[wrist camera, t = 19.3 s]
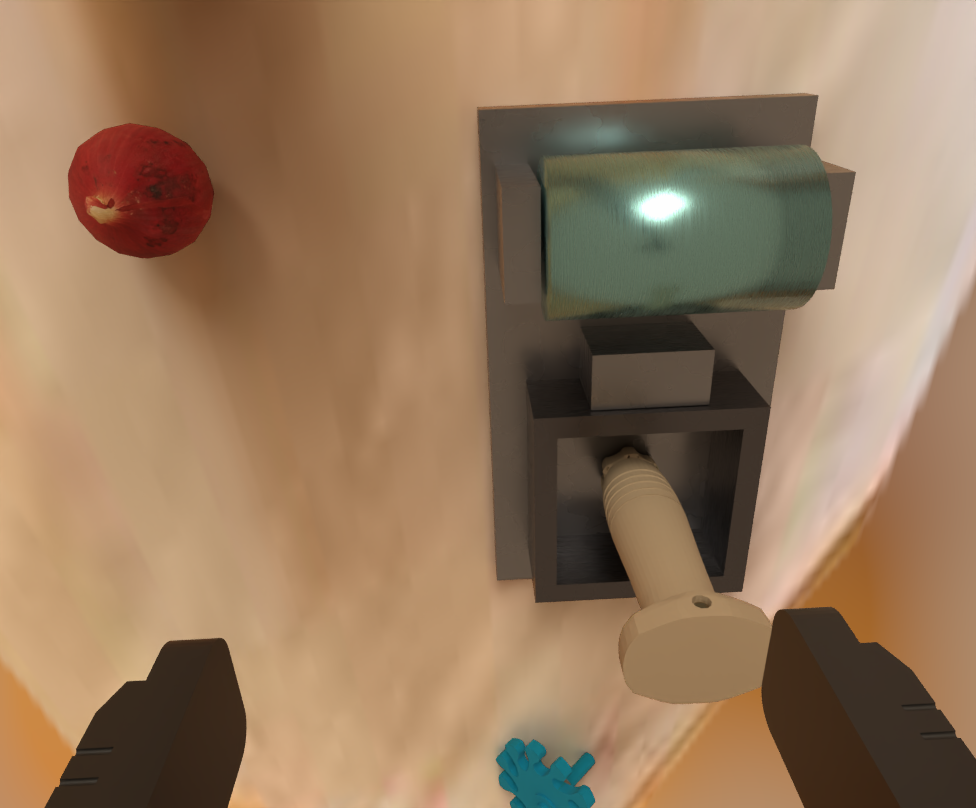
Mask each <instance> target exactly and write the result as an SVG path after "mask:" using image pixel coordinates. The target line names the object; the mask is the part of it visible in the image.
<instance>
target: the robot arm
mask: <svg viewBox="0 0 976 808" xmlns="http://www.w3.org/2000/svg"><path fill="white" fill-rule="evenodd" d="M762 704H763V709H764V714H765V718H766V721H767V724H768V727H769V730H770V732H771V734H772V737H773V739H774V741H775V743H776V745H777V748H778V750H779V752H780V754H781V757H782V759H783V761H784V763H785V765H786V767H787V770H788V772H789V774H790V776H791V779H792V781H793V783H794V785H795V787H796V790H797V792H798V794H799V797H800V799H801V801H802V803H803V805H804V808H976V759H975V758H974V756H973V755H972V753H971V752H970V750H969V749H968V748H967V746H966V745H965V744H964V742H963V741H962V739H961V738H957V737H956V734H955V730H954V728H953V727H952V725H951V724H950V723H949V721H948V720H947V718H946V717H945V716H944V714H943V713H942V711H941V710H937V709H936V706H935V702H934V700H933V699H932V698H931V696H930V695H929V693H928V692H927V691H926V689H925V688H924V686H923V685H922V684H921V682H920V681H919V679H918V678H917V677H916V675H915V674H914V672H913V671H912V670H911V669H910V668H909V667H907V666H906V665H905V664H903V663H902V662H901V661H900V660H899V659H897V658H896V657H895V656H893V655H892V654H891V653H890V652H888V651H887V650H886V649H885V648H883V647H882V646H881V645H880V644H878V643H877V642H873V643H860V642H859V641H858V639H857V638H856V637H855V635H854V633H853V632H852V630H851V629H850V628H849V626H848V624H847V623H846V621H845V620H844V619H843V617H842V616H841V614H840V613H839V612H838V611H837V610H836V609H834V608H832V607H819V608H801V609H783V610H779V611H777V613H776V614H775V616H774V620H773V625H772V631H771V636H770V641H769V647H768V652H767V658H766V663H765V669H764V674H763V680H762ZM245 742H246V713H245V708H244V704H243V701H242V697H241V693H240V689H239V686H238V682H237V678H236V674H235V671H234V667H233V663H232V659H231V656H230V652H229V648H228V645H227V643H226V641H225V640H224V639H222V638H214V639H196V640H177V641H169V642H167V643H166V644H165V645H164V646H163V647H162V649H161V651H160V653H159V655H158V657H157V659H156V661H155V663H154V665H153V667H152V669H151V671H150V673H149V675H148V677H147V679H146V681H128V682H126V683H125V684H124V685H123V686H122V687H121V688H120V689H119V690H118V691H117V692H116V693H115V694H114V695H113V696H112V697H111V698H110V699H109V700H108V701H107V702H106V703H105V704H104V705H103V706H102V707H101V708H100V709H99V710H98V711H97V712H96V713H95V715H94V717H93V719H92V721H91V722H90V724H89V726H88V728H87V730H86V732H85V734H84V735H83V737H82V739H81V741H80V743H79V745H78V747H77V748H76V755H75V756H72V758H71V760H70V761H69V763H68V765H67V767H66V769H65V771H64V773H63V774H62V776H61V778H60V785H59V787H56V788H55V789H54V791H53V793H52V795H51V797H50V799H49V800H48V802H47V804H46V806H45V808H228V804H229V801H230V798H231V794H232V791H233V788H234V784H235V781H236V778H237V774H238V771H239V768H240V764H241V761H242V757H243V753H244V748H245Z"/></svg>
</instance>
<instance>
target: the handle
mask: <svg viewBox="0 0 976 808" xmlns="http://www.w3.org/2000/svg"><path fill="white" fill-rule="evenodd" d="M602 471H603V475H602V477H601V488H602V493H603V504H604V510H605V515H606V520H607V523H608V527H609V530H610V533H611V536H612V539H613V542H614V544H615V546H616V549H617V551H618V553H619V556H620V558H621V561H622V563H623V565H624V568H625V570H626V572H627V575H628V577H629V579H630V582H631V585H632V587H633V590H634V592H635V595H636V597H637V600H638V603H639V605H640V608H641V610H640V611H639V612H637V613H635V614H633V615H632V616H631V618H630V619H629V620H628V621H627V622H626V624H625V625H624V627H623V629H622V632H621V634H620V639H619V659H620V663H621V667H622V671H623V675H624V679H625V682H626V684H627V685H628V687H629V688H630V690H631V691H632V692H633V693H635V694H638V695H641V696H644V697H647V698H651V699H654V700H658V701H661V702H666V703H671V704H693V703H710V702H718V701H722V700H726V699H729V698H732V697H735V696H738V695H741V694H744V693H746V692H749V691H752V690H754V689H757V688H760V687H761V686H762V680H763V674H764V669H765V663H766V658H767V652H768V647H769V641H770V636H771V631H772V625H771V623H770V621H769V619H768V618H767V616H766V615H765V614H764V612H763V611H762V610H761V609H760V608H758V607H756V606H754V605H752V604H749V603H747V602H744V601H742V600H739V599H736V598H733V597H730V596H727V595H723V594H720V593H715V591H714V589H713V586H712V584H711V581H710V579H709V576H708V574H707V571H706V569H705V566H704V564H703V561H702V559H701V556H700V553H699V550H698V547H697V545H696V542H695V539H694V536H693V533H692V531H691V528H690V525H689V522H688V520H687V517H686V514H685V512H684V510H683V508H682V505H681V504H680V501H679V499H678V497H677V495H676V494H675V492H674V491H673V489H672V487H671V486H670V484H669V483H668V481H667V480H666V478H665V477H664V476H663V474H662V473H661V472H660V471H659V468H658V466H657V465H656V463H655V462H654V460H653V459H652V458H651V457H650V456H648V455H642V454H640V453H638V452H637V451H636V450H635V449H634V447H624V448H622V449H621V451H619V452H618V453H617V454H615V455H613V456H610V457H606V458H604V460H603V461H602Z"/></svg>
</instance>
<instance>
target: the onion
mask: <svg viewBox="0 0 976 808" xmlns="http://www.w3.org/2000/svg"><path fill="white" fill-rule="evenodd" d="M68 183H69V198H70V200H71V203H72V205H73V207H74V210H75V212H76V215H77V217H78V219H79V221H80V222H81V223H82V224H83V225H84V226H85V227H86V229H87V230H88V231H89V232H90V233H91V234H92V235H93V236H94V238H95V239H96V240H98V241H99V242H101V243H103V244H104V245H106V246H108V247H109V248H111V249H113V250H114V251H116V252H118V253H120V254H125V255H129V256H134V257H139V258H154V257H159V256H165V255H170V254H173V253H175V252H177V251H179V250H181V249H183V248H184V247H186V246H188V245H190V244H191V243H193V242H195V240H196V239H197V237H198V236H199V234H200V232H201V231H202V229H203V228H204V226H205V225H206V223H207V221H208V220H209V218H210V216H211V209H212V202H213V196H214V191H213V188H212V184H211V181H210V178H209V175H208V171H207V168H206V166H205V164H204V163H203V162H202V161H201V159H200V158H199V157H198V156H197V155H196V153H195V152H194V151H193V150H192V149H191V147H190V146H189V145H188V144H187V143H186V142H184V141H182V140H180V139H178V138H176V137H174V136H173V135H171V134H169V133H167V132H165V131H163V130H161V129H158V128H154V127H149V126H143V125H137V124H131V123H129V124H124V125H120V126H116V127H111V128H107V129H104V130H102V131H100V132H98V133H97V134H95V135H94V136H93V137H91V138H90V139H88V140H87V141H86V142H84V143H83V144H82V145H80V146H79V147H78V149H77V151H76V153H75V156H74V159H73V161H72V164H71V166H70V169H69V172H68Z"/></svg>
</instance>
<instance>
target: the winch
mask: <svg viewBox="0 0 976 808" xmlns="http://www.w3.org/2000/svg"><path fill="white" fill-rule="evenodd" d="M817 101H818V95H813V94H807V93H798V94H775V95H752V96H729V97H705V98H682V99H659V100H636V101H612V102H589V103H566V104H543V105H520V106H496V107H477V108H478V133H479V157H480V182H481V207H482V231H483V256H484V281H485V305H486V330H487V355H488V379H489V404H490V429H491V453H492V478H493V503H494V527H495V552H496V572H497V580H513V579H532V581H533V588H534V595H535V603H538V602H557V601H576V600H594V599H613V598H631V597H636V595H635V592H634V590H633V587H632V585H631V582H630V579H629V577H628V575H627V572H626V570H625V568H624V565H623V563H622V561H621V558H620V556H619V553H618V551H617V549H616V546H615V544H614V542H613V539H612V536H611V533H610V530H609V527H608V523H607V520H606V515H605V510H604V504H603V493H602V488H601V477H602V475H603V471H602V461H603V460H604V458H606V457H610V456H613V455H615V454H617V453H618V452H619V451H621V449H622V448H624V447H634V449H635V450H636V451H637V452H638V453H640V454H642V455H648V456H650V457H651V458H652V459H653V460H654V462H655V463H656V465H657V466H658V468H659V471H660V472H661V473H662V474H663V476H664V477H665V478H666V480H667V481H668V483H669V484H670V486H671V487H672V489H673V491H674V492H675V494H676V495H677V497H678V499H679V501H680V504H681V505H682V508H683V510H684V512H685V514H686V517H687V520H688V522H689V525H690V528H691V531H692V533H693V536H694V539H695V542H696V545H697V547H698V550H699V553H700V556H701V559H702V561H703V564H704V566H705V569H706V571H707V574H708V576H709V579H710V581H711V584H712V586H713V589H714V591H715V593H724V592H742V589H743V582H744V576H745V570H746V563H747V557H748V550H749V544H750V537H751V531H752V524H753V518H754V511H755V505H756V498H757V492H758V485H759V479H760V472H761V466H762V460H763V453H764V447H765V440H766V434H767V427H768V421H769V414H770V408H771V407H770V405H771V399H772V392H773V386H774V379H775V373H776V367H777V360H778V354H779V347H780V341H781V334H782V328H783V321H784V315H785V310H790V309H797V308H800V307H802V306H803V305H805V304H806V303H807V302H808V301H809V300H810V298H811V297H812V296H813V294H814V293H815V291H816V290H825V289H834V288H835V282H836V277H837V271H838V266H839V261H840V255H841V250H842V244H843V239H844V233H845V228H846V222H847V217H848V212H849V206H850V201H851V195H852V190H853V184H854V179H855V173H856V172H854V171H851V170H848V169H845V168H842V167H839V166H836V165H833V164H830V163H827V162H824V161H821V159H820V157H819V156H818V154H817V153H816V152H815V151H814V150H813V149H812V148H811V147H810V146H811V140H812V133H813V127H814V120H815V114H816V107H817Z"/></svg>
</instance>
